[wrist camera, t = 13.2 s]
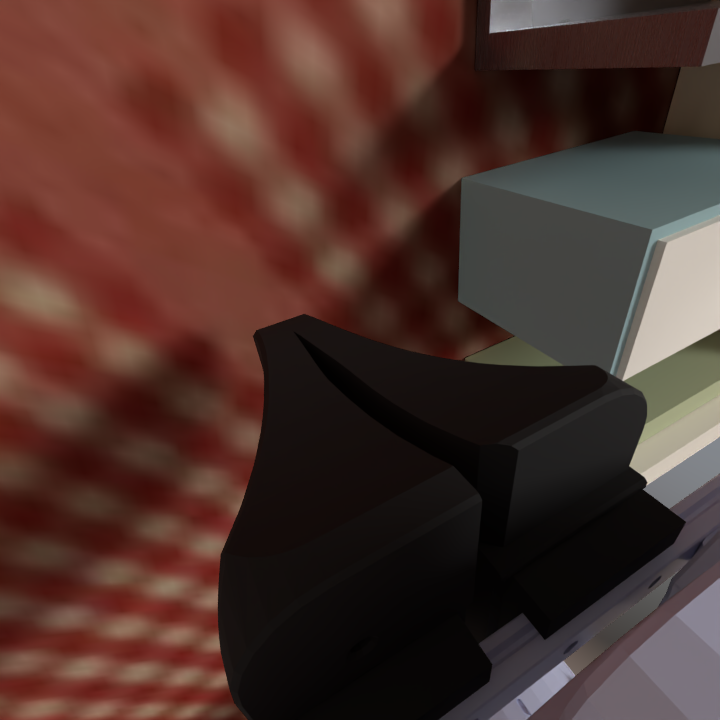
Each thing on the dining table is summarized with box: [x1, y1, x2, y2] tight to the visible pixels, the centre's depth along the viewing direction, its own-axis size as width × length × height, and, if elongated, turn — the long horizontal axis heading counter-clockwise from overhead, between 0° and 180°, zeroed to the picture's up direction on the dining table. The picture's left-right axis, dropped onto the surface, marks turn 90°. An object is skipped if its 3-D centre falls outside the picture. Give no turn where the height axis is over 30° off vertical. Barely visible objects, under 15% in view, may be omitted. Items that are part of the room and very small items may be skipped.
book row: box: [465, 331, 720, 485], centre depth 18 cm, size 3×9×7 cm, turn 97°
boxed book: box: [458, 131, 720, 381], centre depth 14 cm, size 4×8×6 cm, turn 97°
